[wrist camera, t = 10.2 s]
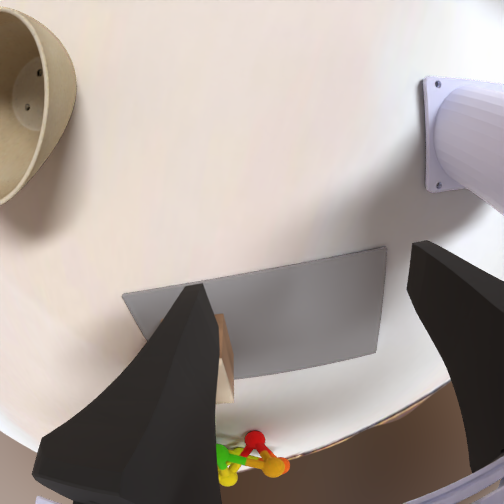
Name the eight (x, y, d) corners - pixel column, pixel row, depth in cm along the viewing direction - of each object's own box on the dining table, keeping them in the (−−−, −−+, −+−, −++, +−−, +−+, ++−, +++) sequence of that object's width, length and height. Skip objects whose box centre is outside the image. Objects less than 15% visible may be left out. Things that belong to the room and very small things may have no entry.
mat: (385, 246, 21) (386, 248, 21) (374, 350, 28) (375, 352, 27) (122, 293, 23) (121, 296, 22) (175, 382, 29) (175, 385, 29)
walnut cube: (149, 368, 19) (161, 318, 24) (171, 404, 22) (178, 358, 26) (221, 365, 19) (223, 313, 23) (233, 402, 22) (233, 354, 26)
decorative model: (290, 472, 37) (192, 498, 34) (270, 423, 43) (177, 448, 40) (301, 468, 27) (169, 501, 24) (274, 402, 33) (150, 433, 30)
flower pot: (95, 178, 18) (37, 232, 12) (-12, 151, 16) (-76, 190, 9) (134, 23, 13) (75, 0, 7) (10, 19, 11) (-62, 19, 5)
